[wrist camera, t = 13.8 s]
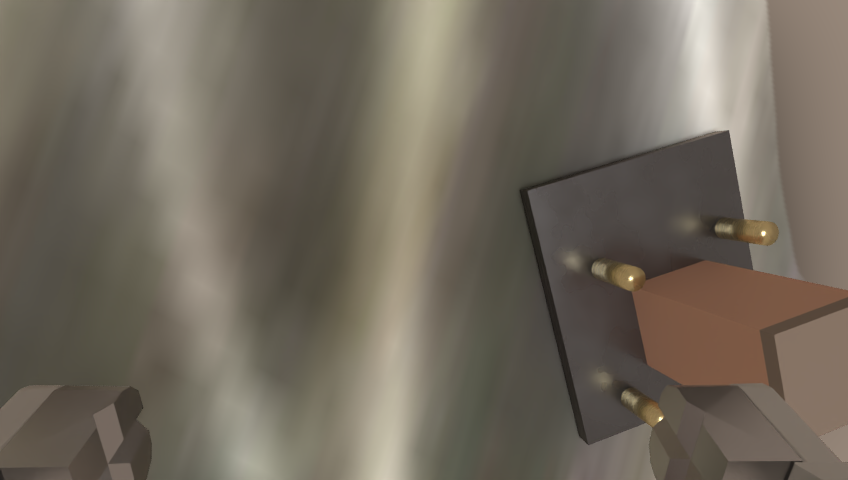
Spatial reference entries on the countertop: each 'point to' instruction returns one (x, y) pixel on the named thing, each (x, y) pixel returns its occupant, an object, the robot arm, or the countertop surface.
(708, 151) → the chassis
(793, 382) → the block
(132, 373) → the countertop surface
